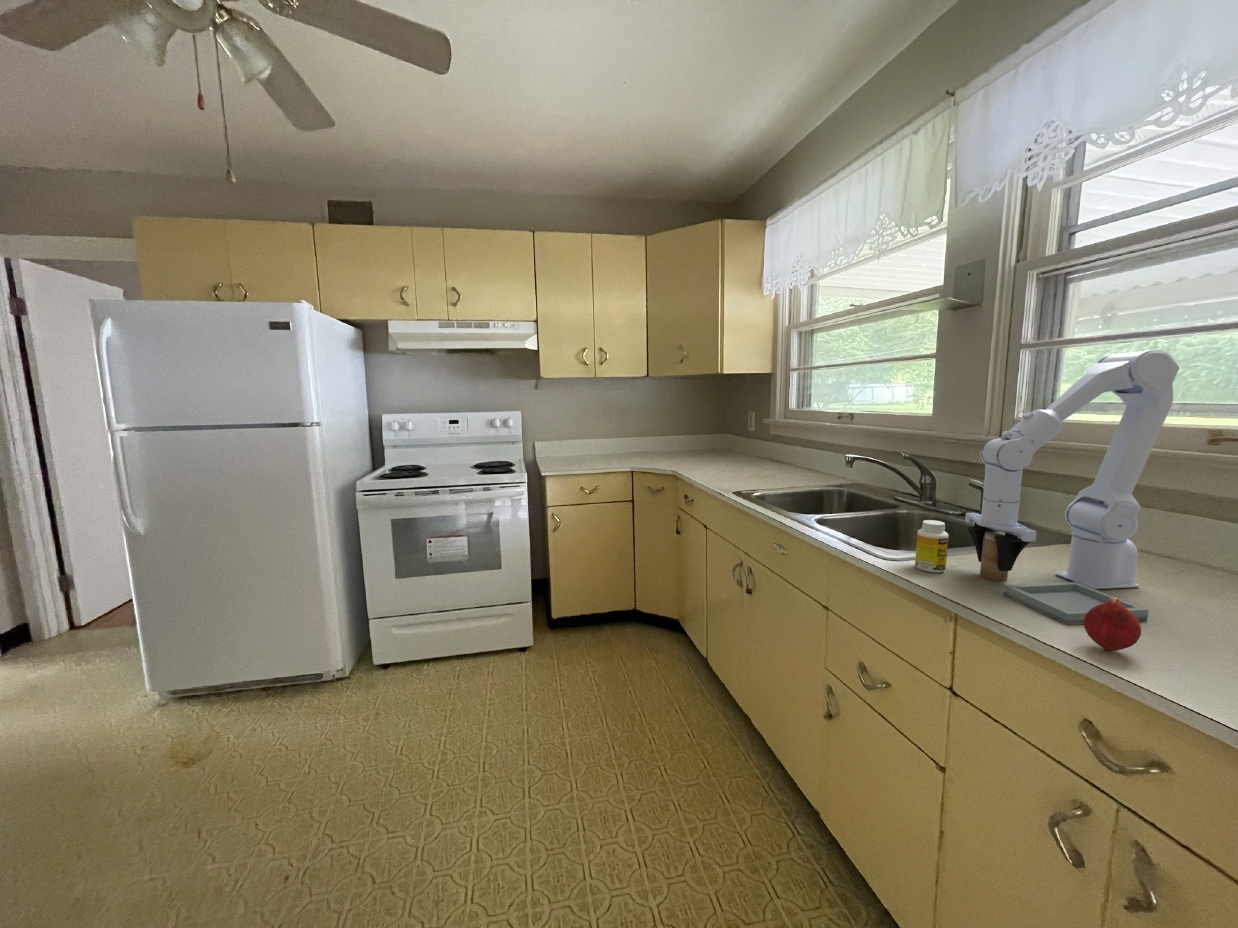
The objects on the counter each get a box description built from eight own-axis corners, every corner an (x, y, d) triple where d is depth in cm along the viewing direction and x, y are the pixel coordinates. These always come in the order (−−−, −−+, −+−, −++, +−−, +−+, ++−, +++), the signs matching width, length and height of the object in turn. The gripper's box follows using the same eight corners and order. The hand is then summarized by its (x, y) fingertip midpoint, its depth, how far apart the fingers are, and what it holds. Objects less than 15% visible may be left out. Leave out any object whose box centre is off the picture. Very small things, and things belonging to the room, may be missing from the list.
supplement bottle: (938, 575, 100) (941, 527, 99) (909, 568, 105) (913, 521, 104) (950, 570, 104) (954, 522, 102) (922, 562, 108) (926, 517, 107)
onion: (1144, 666, 67) (1152, 610, 66) (1086, 654, 70) (1093, 601, 69) (1129, 647, 72) (1136, 595, 71) (1076, 637, 75) (1082, 587, 74)
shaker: (994, 573, 101) (998, 530, 100) (1013, 581, 97) (1017, 537, 96) (974, 574, 101) (978, 531, 100) (992, 582, 97) (996, 537, 95)
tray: (1074, 591, 92) (1075, 581, 92) (1147, 620, 80) (1148, 609, 80) (1003, 594, 91) (1004, 585, 91) (1067, 624, 79) (1068, 613, 79)
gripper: (954, 493, 104) (948, 555, 106) (1013, 508, 89) (1006, 580, 91) (985, 492, 104) (979, 553, 106) (1049, 507, 90) (1042, 578, 92)
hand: (994, 565), depth 99 cm, fingers closed on shaker, 4 cm apart
